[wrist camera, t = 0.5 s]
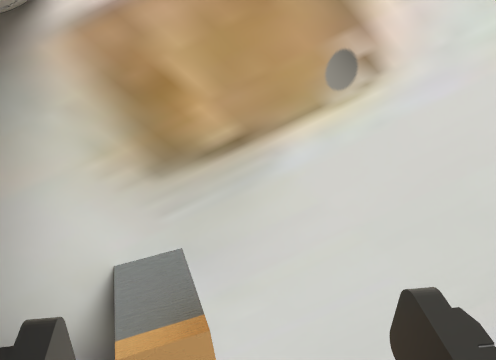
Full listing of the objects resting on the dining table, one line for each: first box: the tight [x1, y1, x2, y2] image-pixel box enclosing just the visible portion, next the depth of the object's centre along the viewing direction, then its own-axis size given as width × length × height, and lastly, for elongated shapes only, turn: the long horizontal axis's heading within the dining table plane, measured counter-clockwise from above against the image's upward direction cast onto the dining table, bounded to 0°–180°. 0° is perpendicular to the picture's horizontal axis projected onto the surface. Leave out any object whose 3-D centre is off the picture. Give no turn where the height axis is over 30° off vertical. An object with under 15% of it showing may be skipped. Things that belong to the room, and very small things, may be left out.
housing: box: [114, 248, 216, 360], centre depth 28 cm, size 5×5×10 cm
